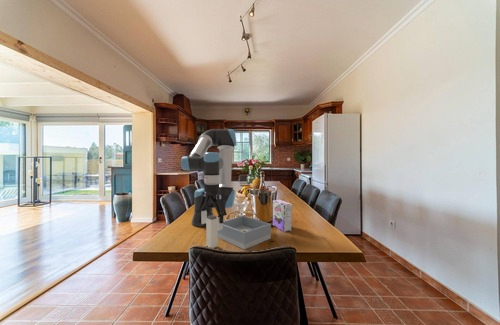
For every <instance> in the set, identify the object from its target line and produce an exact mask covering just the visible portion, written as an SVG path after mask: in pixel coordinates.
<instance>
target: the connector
mask: <svg viewBox="0 0 500 325" xmlns="http://www.w3.org/2000/svg"><path fill="white" fill-rule="evenodd" d="M205 230H206V232H205V236H206V237H205V238H206V239H205V241H206V242H205V243H206V244H205V245H206V247H207V246H208V247H207V248H209V247H212V249H214V248H218V247H219V246H218V245H219V244H218V242H219V241H218V240H219V238H218V230H217V215H214V214H213V215H210V216H207V218H206V226H205Z"/></svg>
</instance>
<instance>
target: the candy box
mask: <svg viewBox="0 0 500 325" xmlns="http://www.w3.org/2000/svg"><path fill="white" fill-rule="evenodd" d="M292 206H293V204H292V203H290V202H288V201H284V200H282V199H273V200H272V226H274V227H275V228H276V229H278V230H280V231H281V232H283V233H285V232H292V226H293V225H292V222H293V221H292V220H293V219H292V218H293V217H292V216H293V207H292Z"/></svg>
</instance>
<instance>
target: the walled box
mask: <svg viewBox="0 0 500 325" xmlns="http://www.w3.org/2000/svg"><path fill="white" fill-rule="evenodd" d="M271 238H272V224H271V223H269V222H266V221H262V220H259V219H256V218H254V217H249V216H245V215H240V216H236V217H233V218H230V219H226V220H223V229H222V230H219V231H218V239H220V240H222V241H225V242H228V243H229V244H231V245H233V246H235V247H238V248H240V249H241V250H246V249H249V248H251V247H254V246H257V245H258V244H260V243H263V242H265V241H268V240H270V239H271Z"/></svg>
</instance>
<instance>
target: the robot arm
mask: <svg viewBox="0 0 500 325" xmlns="http://www.w3.org/2000/svg"><path fill="white" fill-rule="evenodd" d="M237 144H238V143H237V137H236V130H234V129H232V128H225V129H224V128H212V129H208V130H206V131H204V132H203V133H201V135H199V137H198V140H197V143H196V144H195V146H194V147H193V149H192V151H191V152H190V154H189V155H186V156H182V157H181V159H180V168H181V169H182V170H184V171H203V175H204V176H203V183H204V184H203V187H201V188H198V189H196V190H195V191H194V197H193V198H194V201H193V203H194V206H193V207H194V208H193V211H194V212H193V215H192V219H191V225H192V226H194V227H202V228H203V227H206V218H207V216H210V215H214V213H213V209H215V211H216V213H217V215H216V218H217V230H218V231H219V230H222V229H223V221H224V217H225V216H227V211H226V209H231V208H233V207H234V204H235V199H236V190H235V189H234V186H232V165H233V164H232V161H233V156H232V155H233V150H234V149H235V147H236V146H238V145H237ZM212 146H215V147H216V146H217V149H218V150H219V152H218V151H217V152H216V151H215V152H210V151H209V152H208V150H209V148H211V147H212Z"/></svg>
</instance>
